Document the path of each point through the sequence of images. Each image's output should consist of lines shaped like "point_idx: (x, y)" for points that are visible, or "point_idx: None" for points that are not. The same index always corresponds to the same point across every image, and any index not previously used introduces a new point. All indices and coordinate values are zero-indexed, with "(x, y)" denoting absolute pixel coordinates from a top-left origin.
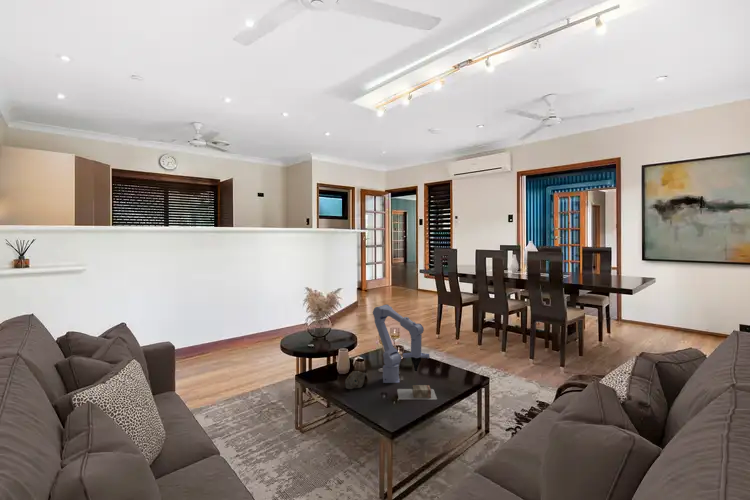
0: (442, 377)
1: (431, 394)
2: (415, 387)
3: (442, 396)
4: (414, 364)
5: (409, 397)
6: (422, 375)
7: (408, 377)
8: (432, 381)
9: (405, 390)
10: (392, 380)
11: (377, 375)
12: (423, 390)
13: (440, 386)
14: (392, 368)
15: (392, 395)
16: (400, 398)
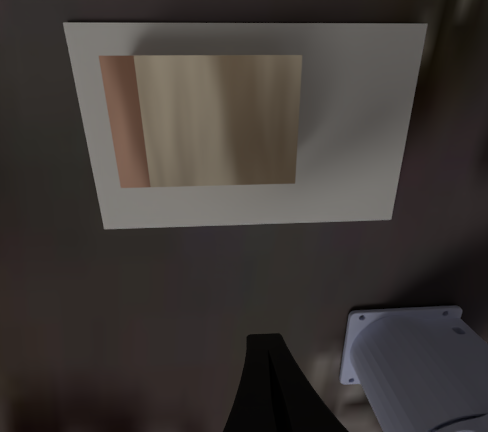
0: (47, 399)
1: None
2: (272, 127)
3: (22, 107)
4: (318, 422)
5: (322, 65)
6: (182, 413)
7: None
8: (115, 346)
9: (332, 197)
10: (407, 323)
11: None
12: (189, 56)
13: (53, 280)
14: (476, 410)
15: (448, 120)
16: (406, 43)
